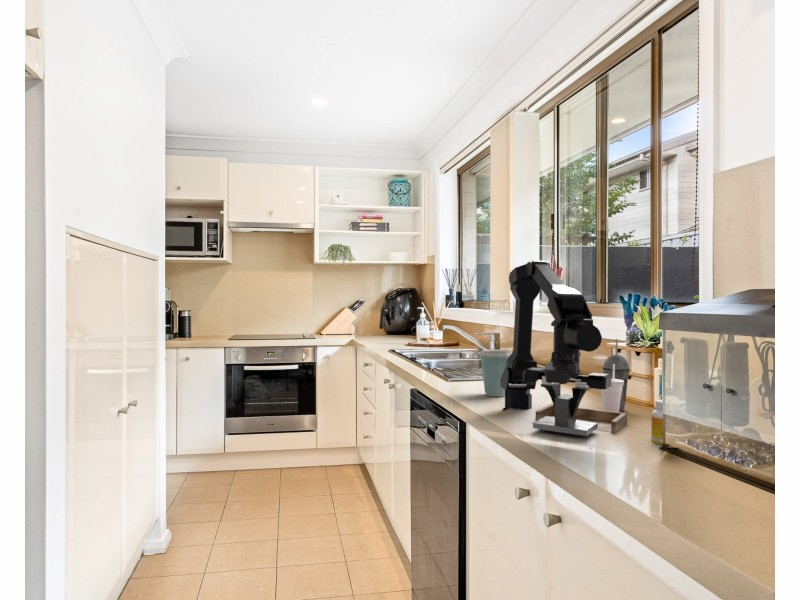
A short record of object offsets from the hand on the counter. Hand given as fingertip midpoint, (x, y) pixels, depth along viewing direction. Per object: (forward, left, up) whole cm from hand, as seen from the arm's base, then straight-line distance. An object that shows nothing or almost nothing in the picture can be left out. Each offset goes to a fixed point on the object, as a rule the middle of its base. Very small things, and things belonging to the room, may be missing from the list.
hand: (565, 415), depth 126 cm
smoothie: (+3, +30, -5) cm, 30 cm away
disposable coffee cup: (-35, +40, -5) cm, 53 cm away
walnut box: (0, +12, -5) cm, 13 cm away
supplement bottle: (+20, +5, -5) cm, 21 cm away
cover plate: (0, 0, -3) cm, 3 cm away
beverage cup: (+2, +40, -5) cm, 40 cm away
